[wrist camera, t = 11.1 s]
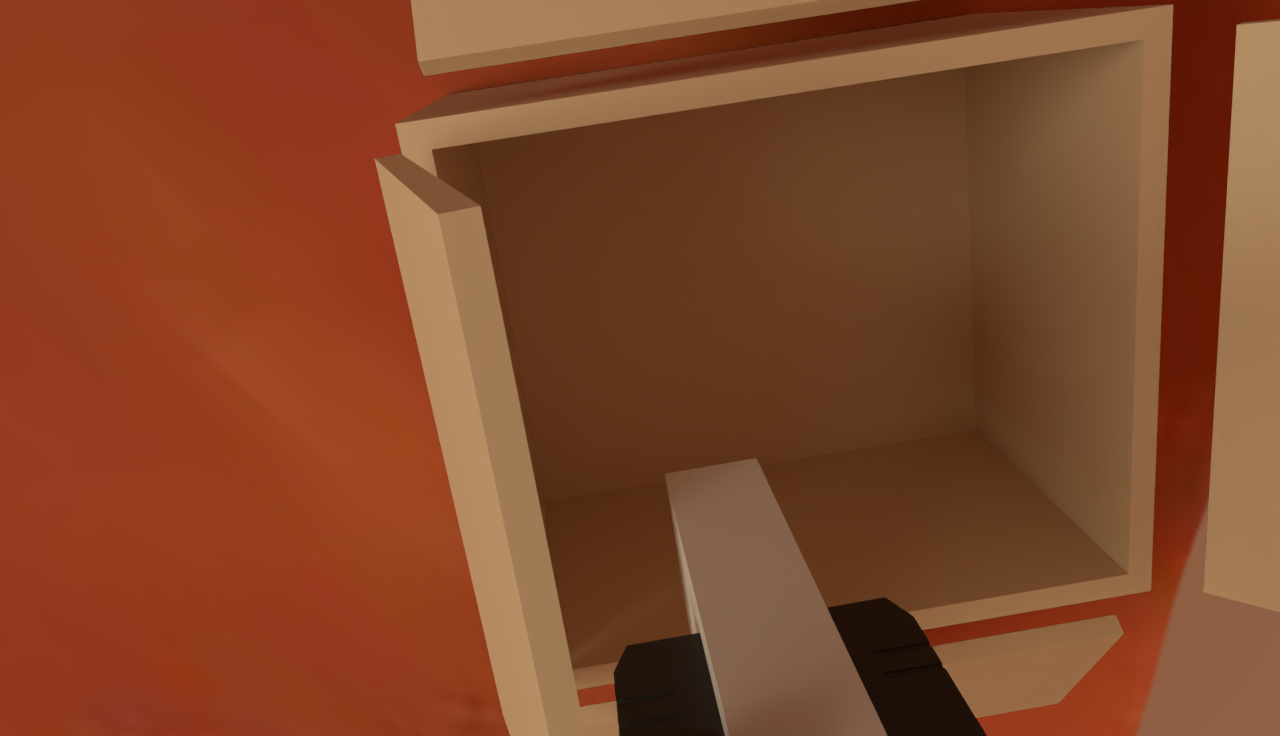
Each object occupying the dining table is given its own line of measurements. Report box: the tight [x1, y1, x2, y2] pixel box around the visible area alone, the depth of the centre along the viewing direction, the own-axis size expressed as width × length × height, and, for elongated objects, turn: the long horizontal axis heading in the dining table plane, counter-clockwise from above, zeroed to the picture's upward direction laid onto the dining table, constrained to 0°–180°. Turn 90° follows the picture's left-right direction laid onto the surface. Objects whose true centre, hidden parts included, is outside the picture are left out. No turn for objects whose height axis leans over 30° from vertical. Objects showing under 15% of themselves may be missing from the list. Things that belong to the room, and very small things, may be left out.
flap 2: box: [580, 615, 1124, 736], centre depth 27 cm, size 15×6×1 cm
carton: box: [396, 4, 1173, 690], centre depth 27 cm, size 16×14×10 cm
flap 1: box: [375, 154, 586, 736], centre depth 17 cm, size 8×13×1 cm
